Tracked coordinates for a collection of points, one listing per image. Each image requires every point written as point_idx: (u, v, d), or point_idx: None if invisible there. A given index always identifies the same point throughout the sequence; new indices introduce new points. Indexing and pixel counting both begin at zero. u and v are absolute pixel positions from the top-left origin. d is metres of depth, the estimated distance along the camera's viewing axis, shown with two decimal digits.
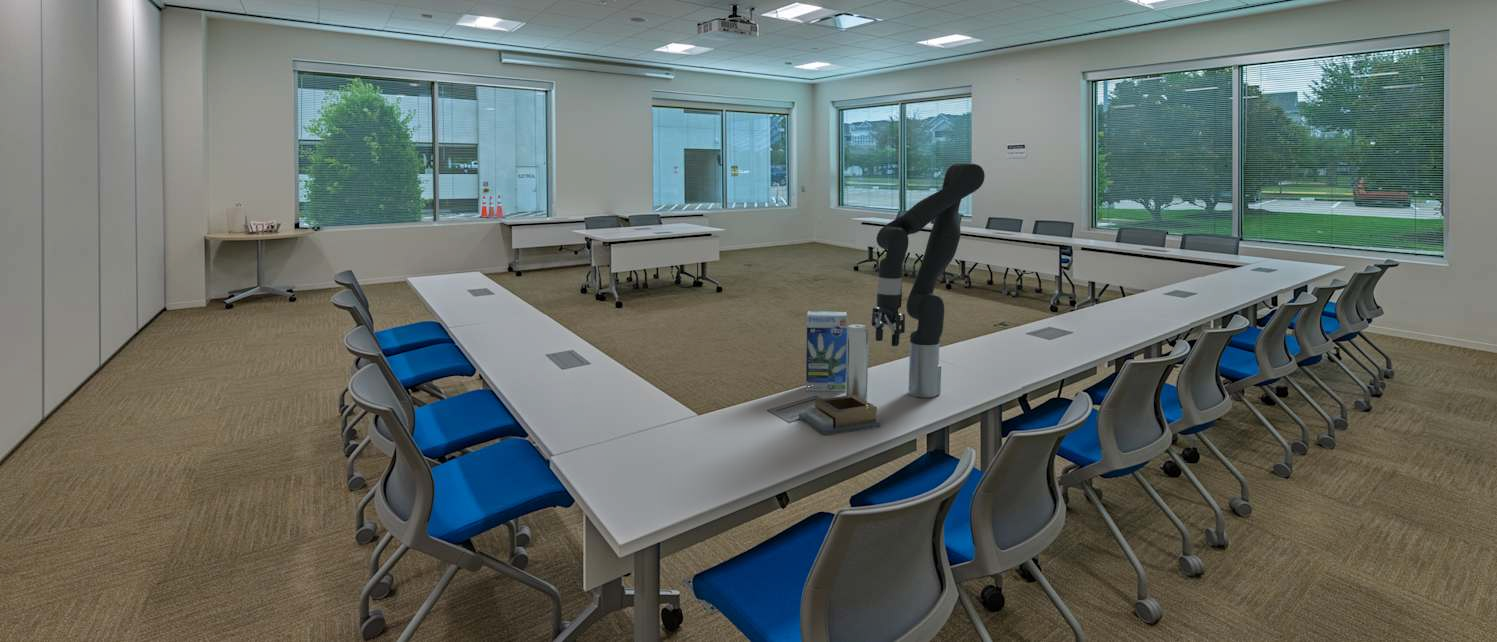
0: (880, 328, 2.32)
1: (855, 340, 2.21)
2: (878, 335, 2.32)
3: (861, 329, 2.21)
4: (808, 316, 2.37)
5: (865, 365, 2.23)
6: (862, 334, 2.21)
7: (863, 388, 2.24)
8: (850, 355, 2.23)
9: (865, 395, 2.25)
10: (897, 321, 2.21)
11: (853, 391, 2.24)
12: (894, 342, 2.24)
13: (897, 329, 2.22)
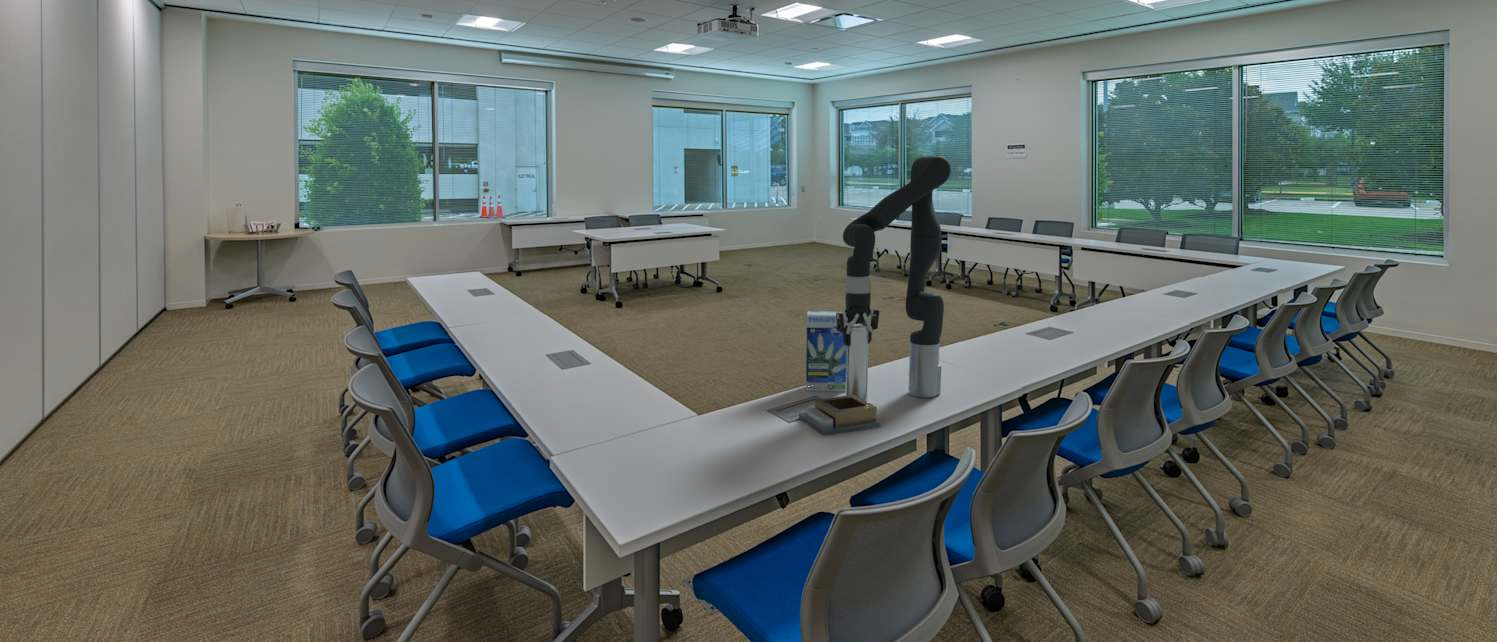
0: None
1: (855, 340, 2.21)
2: None
3: (861, 329, 2.21)
4: (808, 316, 2.37)
5: (865, 365, 2.23)
6: (862, 334, 2.21)
7: (863, 388, 2.24)
8: (850, 355, 2.23)
9: (865, 395, 2.25)
10: (877, 317, 2.24)
11: (853, 391, 2.24)
12: (870, 339, 2.25)
13: (876, 325, 2.24)
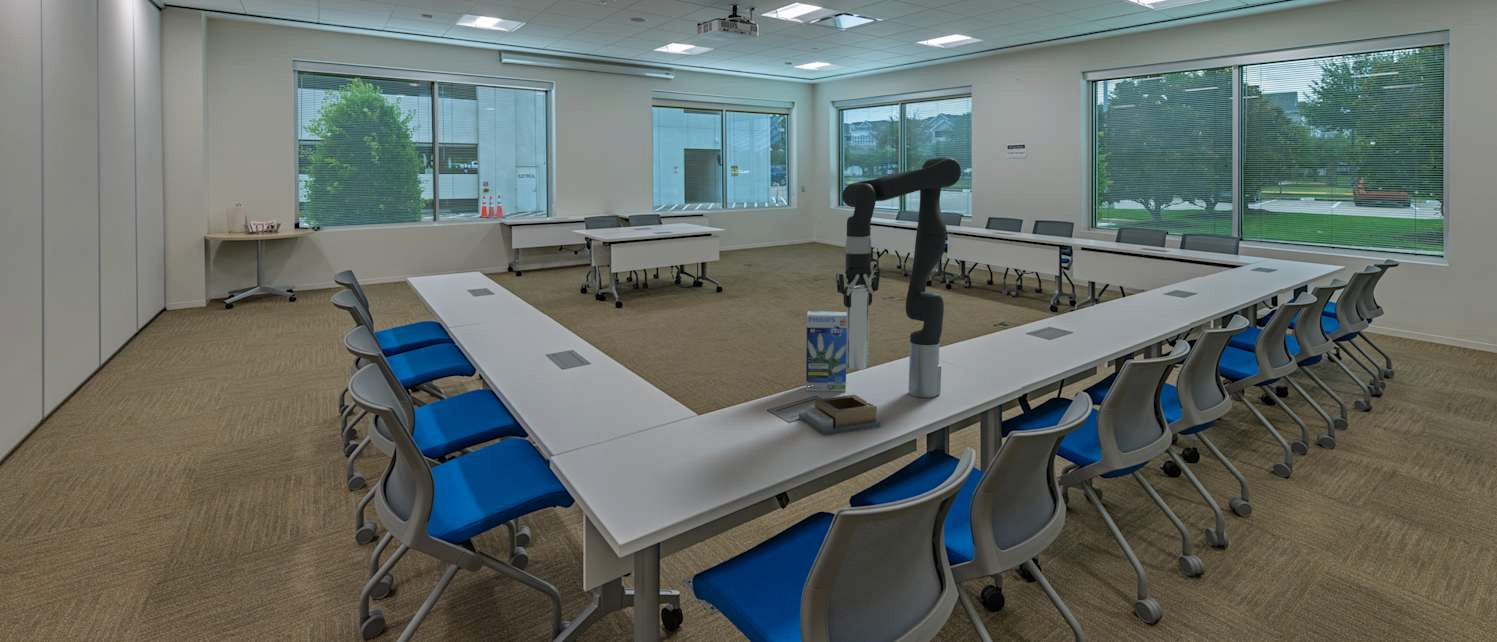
0: None
1: (855, 301, 2.19)
2: None
3: (861, 290, 2.18)
4: (808, 316, 2.37)
5: (866, 327, 2.21)
6: (862, 295, 2.18)
7: (864, 350, 2.22)
8: (850, 317, 2.21)
9: (866, 357, 2.23)
10: (878, 278, 2.21)
11: (854, 353, 2.22)
12: (871, 301, 2.23)
13: (876, 286, 2.22)
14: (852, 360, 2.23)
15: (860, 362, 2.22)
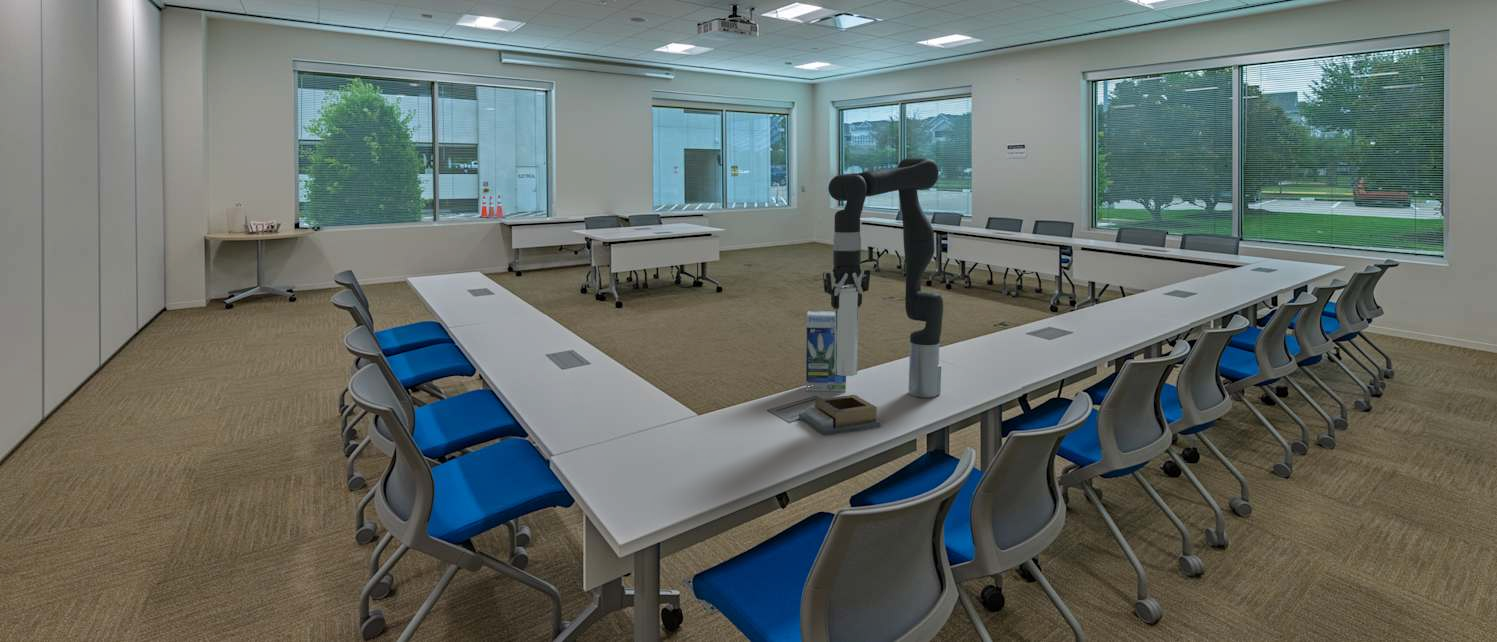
0: None
1: (844, 302, 2.03)
2: None
3: (850, 290, 2.02)
4: (808, 316, 2.37)
5: (855, 330, 2.05)
6: (851, 295, 2.02)
7: (853, 355, 2.06)
8: (838, 319, 2.04)
9: (855, 363, 2.07)
10: (868, 278, 2.05)
11: (842, 358, 2.06)
12: (860, 302, 2.06)
13: (867, 286, 2.06)
14: (840, 366, 2.07)
15: (848, 368, 2.06)
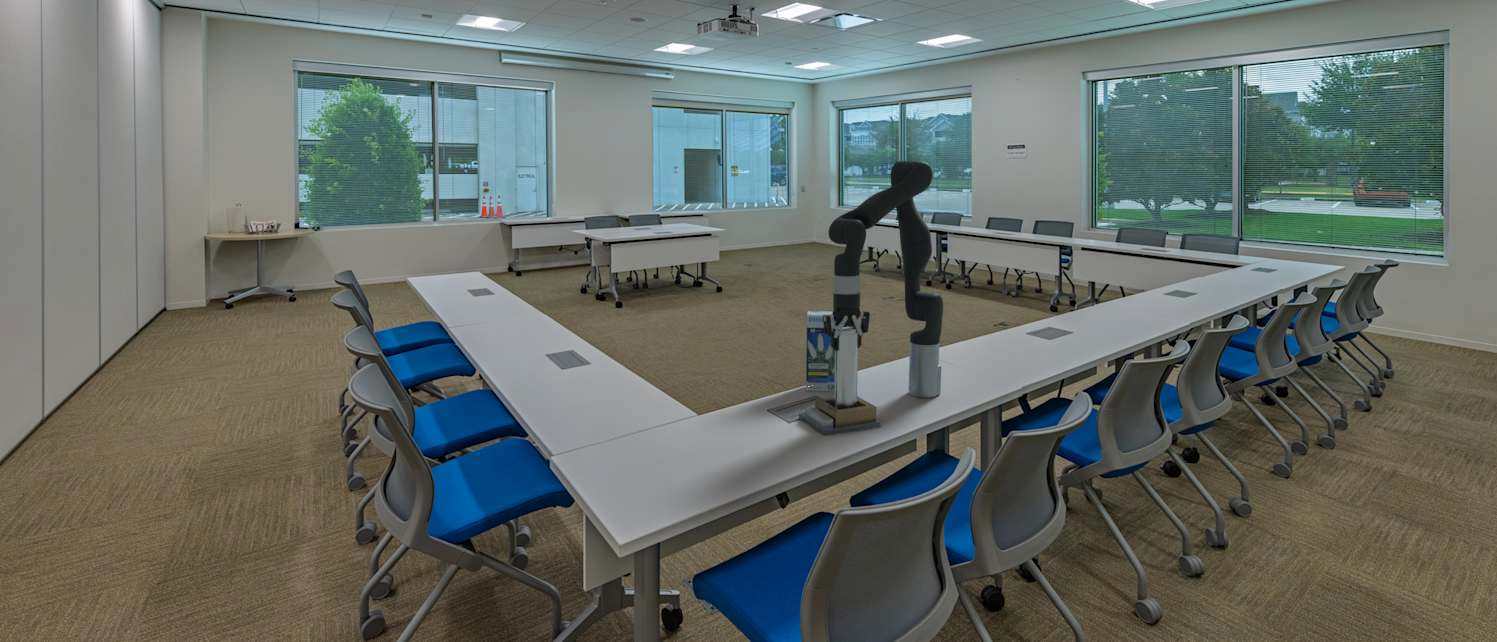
0: None
1: (843, 344, 2.05)
2: None
3: (850, 332, 2.05)
4: (808, 316, 2.37)
5: (854, 371, 2.07)
6: (851, 338, 2.05)
7: (852, 396, 2.08)
8: (838, 360, 2.07)
9: (855, 403, 2.09)
10: (867, 319, 2.08)
11: (842, 399, 2.08)
12: (860, 343, 2.09)
13: (866, 328, 2.08)
14: (839, 406, 2.09)
15: None
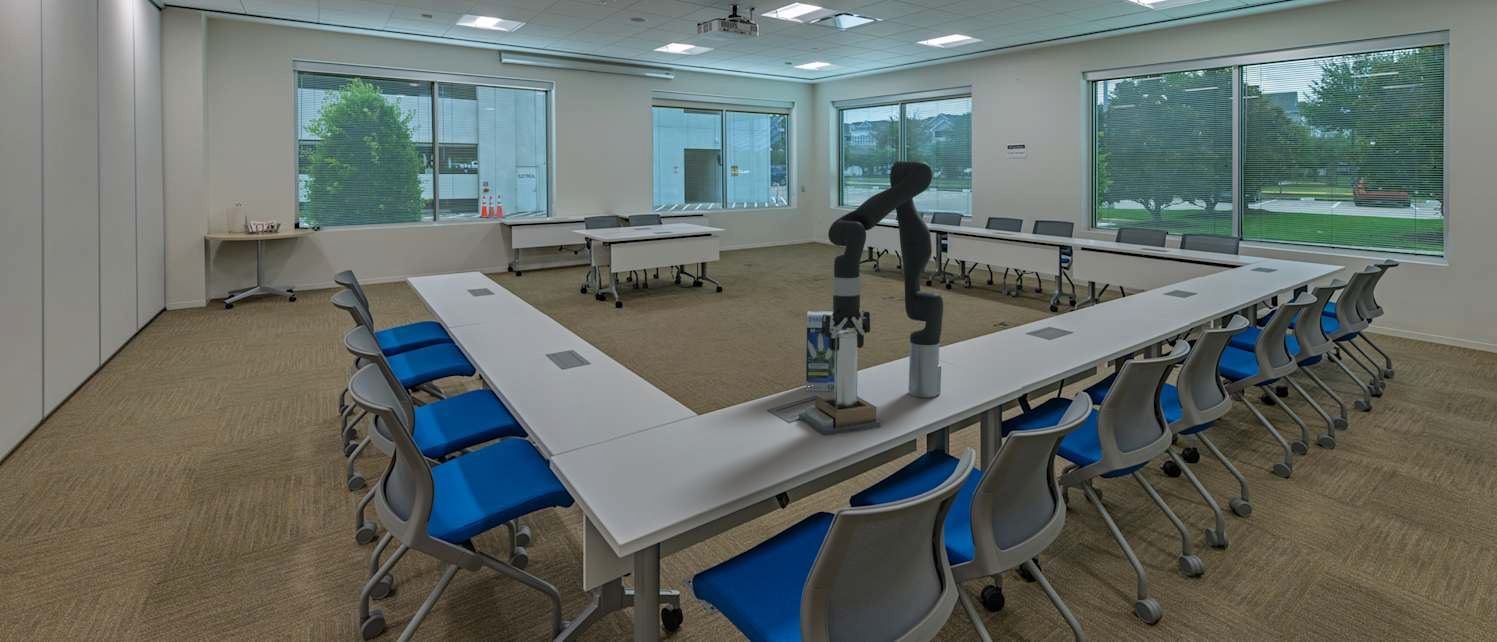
0: None
1: (843, 347, 2.05)
2: None
3: (850, 336, 2.05)
4: (808, 316, 2.37)
5: (854, 374, 2.07)
6: (851, 341, 2.05)
7: (852, 399, 2.08)
8: (838, 364, 2.07)
9: (854, 407, 2.09)
10: (868, 319, 2.08)
11: (841, 402, 2.08)
12: (862, 343, 2.09)
13: (868, 328, 2.08)
14: (839, 409, 2.09)
15: None
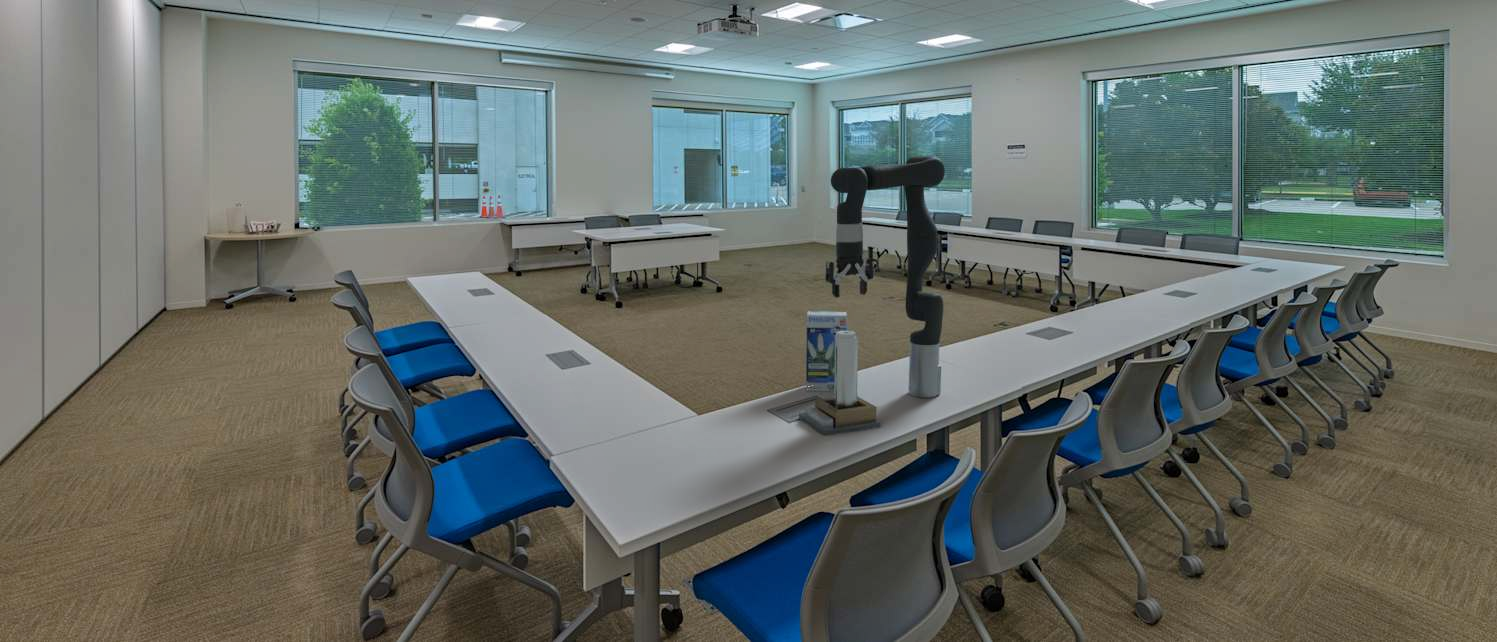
0: None
1: (844, 348, 2.05)
2: None
3: (850, 336, 2.05)
4: (808, 316, 2.37)
5: (854, 374, 2.07)
6: (851, 341, 2.05)
7: (852, 399, 2.08)
8: (838, 364, 2.07)
9: (854, 407, 2.09)
10: (871, 266, 2.10)
11: (842, 402, 2.08)
12: (865, 290, 2.12)
13: (872, 274, 2.11)
14: (839, 409, 2.09)
15: None
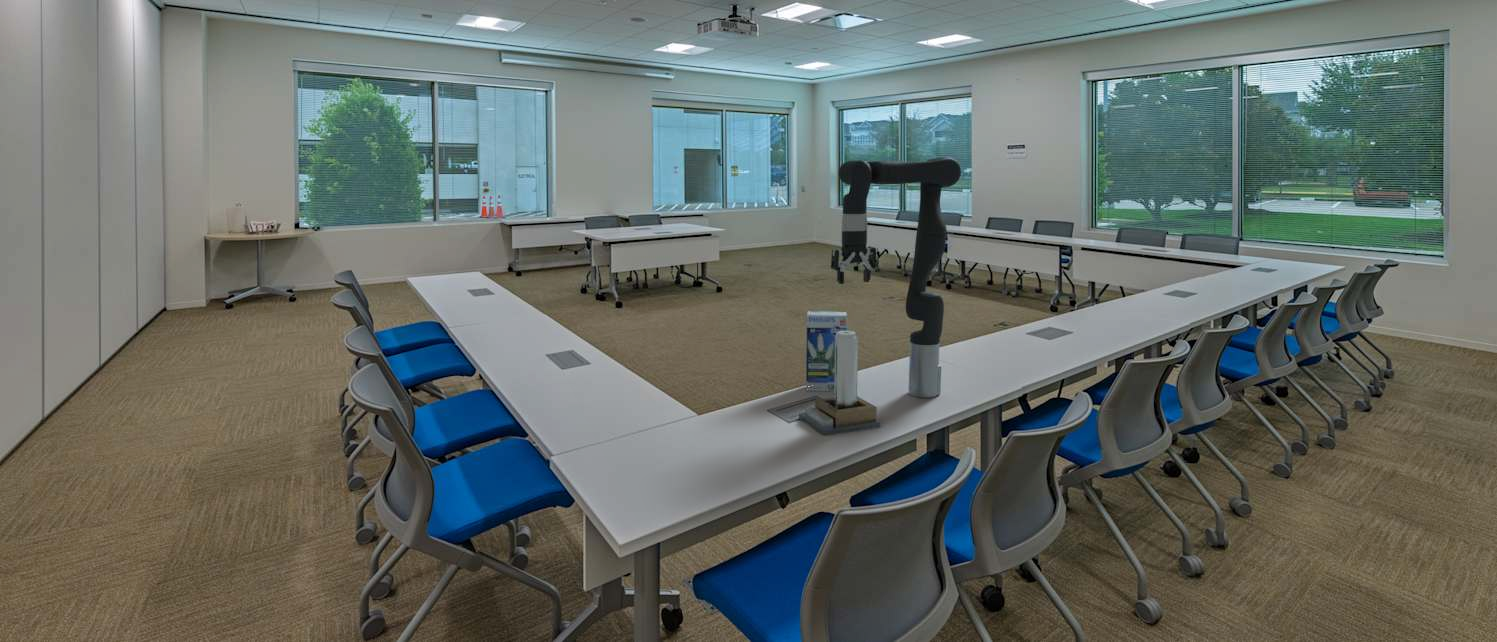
0: None
1: (843, 348, 2.05)
2: None
3: (850, 336, 2.05)
4: (808, 316, 2.37)
5: (854, 374, 2.07)
6: (851, 341, 2.05)
7: (852, 399, 2.08)
8: (838, 364, 2.07)
9: (854, 407, 2.09)
10: (875, 255, 2.21)
11: (842, 402, 2.08)
12: (869, 277, 2.22)
13: (875, 263, 2.21)
14: (839, 409, 2.09)
15: None
